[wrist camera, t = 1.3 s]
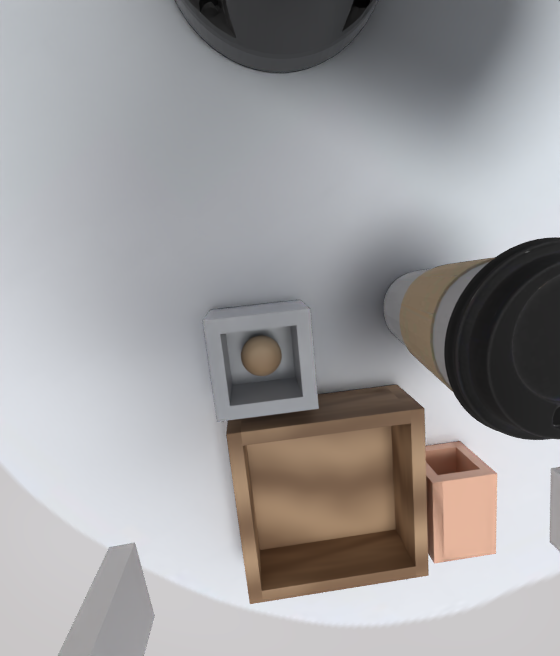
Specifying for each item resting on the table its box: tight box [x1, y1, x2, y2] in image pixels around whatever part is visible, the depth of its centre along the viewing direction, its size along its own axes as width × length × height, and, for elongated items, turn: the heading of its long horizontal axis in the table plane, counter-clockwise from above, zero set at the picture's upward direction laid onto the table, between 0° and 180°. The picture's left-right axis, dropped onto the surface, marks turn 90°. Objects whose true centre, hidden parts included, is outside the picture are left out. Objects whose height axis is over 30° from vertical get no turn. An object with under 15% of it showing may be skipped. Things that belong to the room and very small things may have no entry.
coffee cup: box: [384, 238, 560, 440], centre depth 23 cm, size 9×9×15 cm
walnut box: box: [226, 385, 428, 604], centre depth 30 cm, size 14×14×5 cm
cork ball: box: [241, 335, 282, 376], centre depth 27 cm, size 3×3×3 cm
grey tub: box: [203, 300, 319, 422], centre depth 27 cm, size 7×7×5 cm
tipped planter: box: [425, 441, 497, 563], centre depth 31 cm, size 7×5×5 cm
